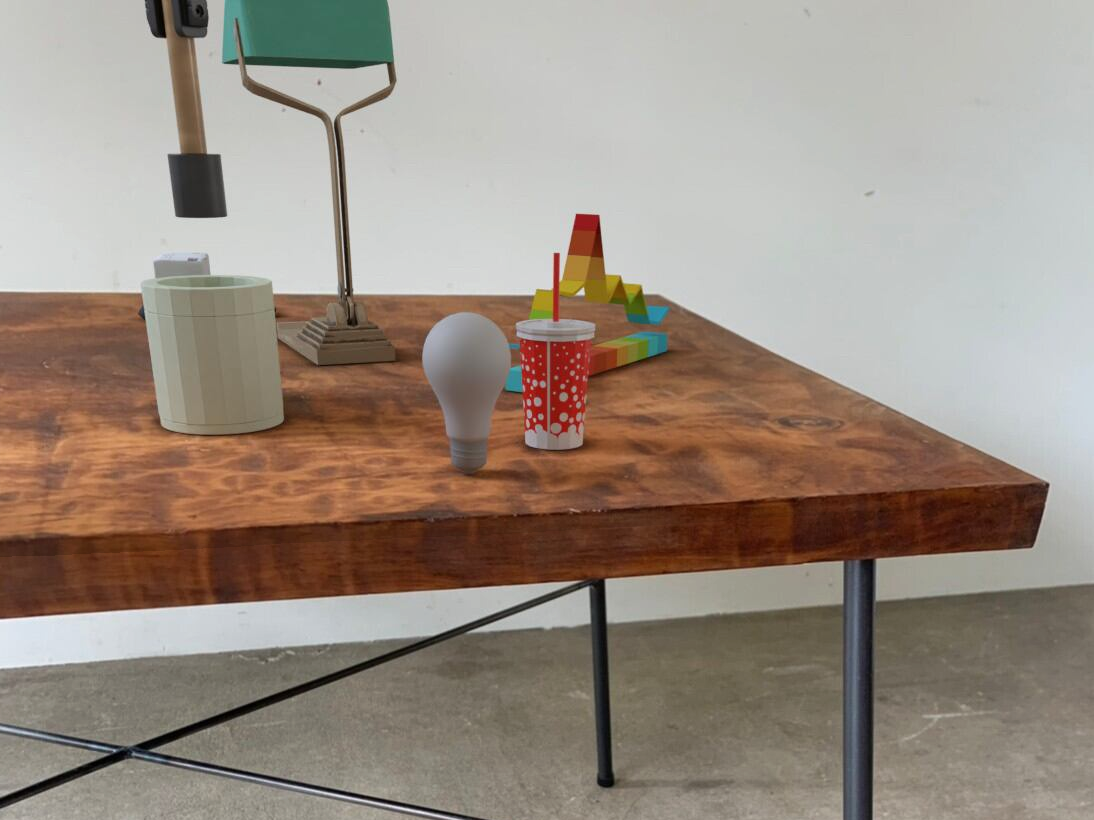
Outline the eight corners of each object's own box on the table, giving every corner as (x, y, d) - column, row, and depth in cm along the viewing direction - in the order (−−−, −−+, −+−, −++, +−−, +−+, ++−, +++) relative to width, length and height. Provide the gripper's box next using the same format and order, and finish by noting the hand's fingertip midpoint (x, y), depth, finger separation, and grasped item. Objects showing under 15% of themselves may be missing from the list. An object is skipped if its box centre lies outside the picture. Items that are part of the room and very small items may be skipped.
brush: (180, 218, 81) (145, -58, 73) (171, 215, 84) (136, -51, 76) (232, 217, 82) (203, -54, 75) (221, 214, 85) (192, -47, 78)
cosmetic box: (175, 393, 107) (156, 252, 102) (224, 392, 108) (209, 252, 103) (167, 406, 102) (147, 258, 96) (219, 405, 103) (202, 258, 97)
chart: (641, 348, 134) (648, 206, 128) (666, 351, 133) (675, 207, 126) (503, 390, 111) (502, 219, 104) (531, 394, 110) (533, 220, 103)
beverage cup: (599, 436, 94) (605, 250, 88) (583, 454, 89) (589, 258, 83) (526, 431, 95) (526, 248, 89) (506, 449, 90) (506, 254, 84)
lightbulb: (505, 462, 87) (504, 306, 81) (517, 483, 81) (517, 318, 76) (423, 464, 86) (417, 306, 80) (430, 486, 80) (423, 319, 75)
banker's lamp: (282, 367, 120) (246, -37, 104) (244, 337, 137) (207, -13, 121) (427, 358, 126) (414, -25, 110) (373, 331, 143) (354, -4, 127)
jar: (174, 439, 91) (154, 291, 86) (150, 414, 99) (130, 277, 94) (298, 428, 95) (286, 286, 90) (266, 405, 103) (253, 273, 98)
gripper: (15, -296, 70) (67, 37, 78) (166, -338, 64) (207, 30, 72) (117, -264, 76) (157, 44, 84) (267, -300, 69) (294, 38, 77)
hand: (180, 36), depth 78 cm, fingers closed on brush, 2 cm apart
